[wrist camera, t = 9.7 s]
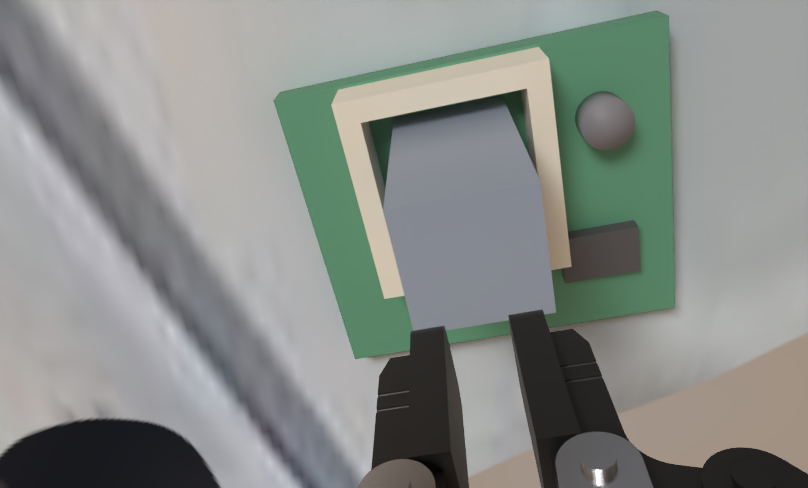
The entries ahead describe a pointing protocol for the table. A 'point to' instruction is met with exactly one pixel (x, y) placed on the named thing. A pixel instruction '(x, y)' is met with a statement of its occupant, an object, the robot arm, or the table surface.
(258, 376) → the table surface
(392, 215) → the plug
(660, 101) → the board
